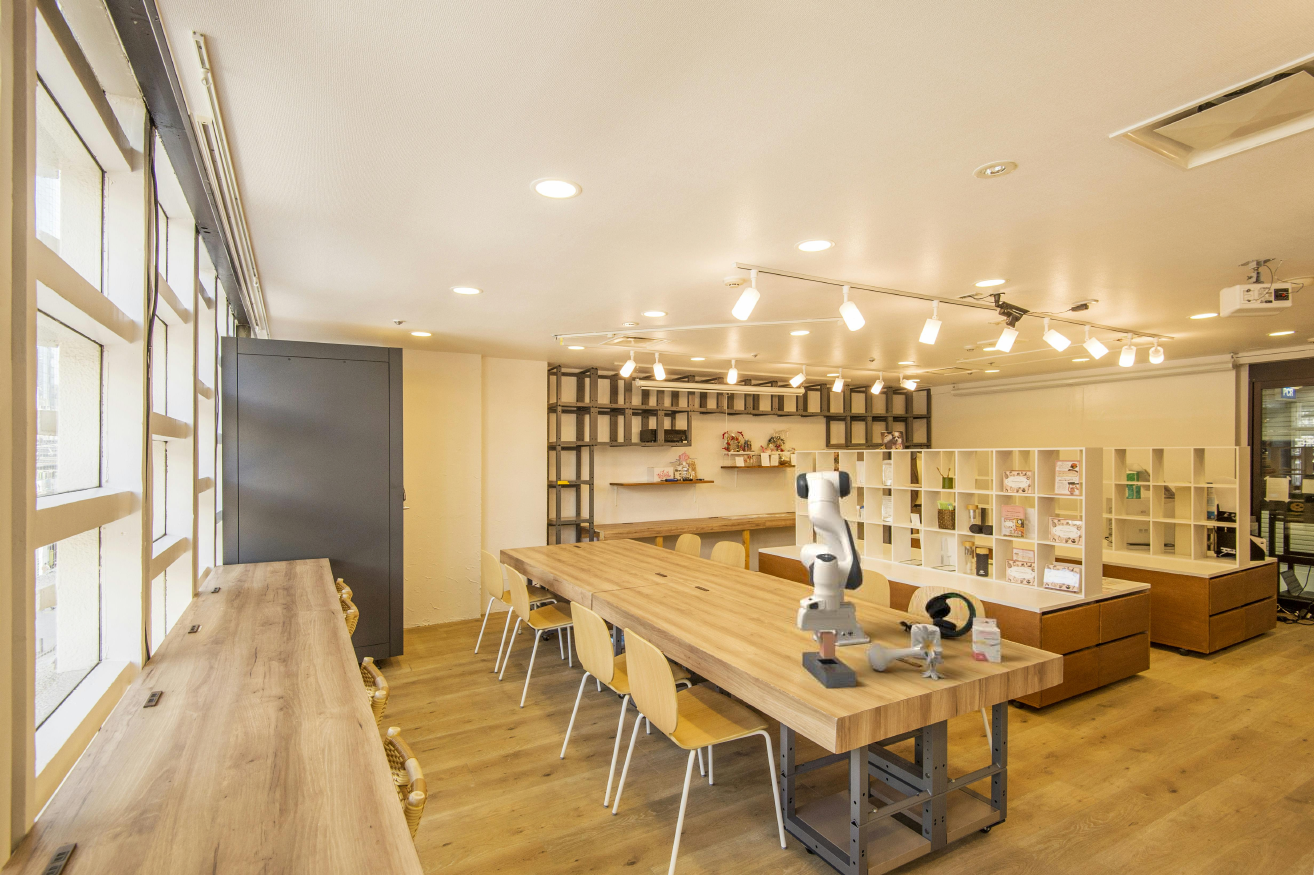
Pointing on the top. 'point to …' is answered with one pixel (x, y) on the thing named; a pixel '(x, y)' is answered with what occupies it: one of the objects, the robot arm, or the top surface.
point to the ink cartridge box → (986, 640)
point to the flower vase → (908, 653)
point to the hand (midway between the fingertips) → (827, 642)
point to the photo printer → (917, 633)
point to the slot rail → (829, 670)
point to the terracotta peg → (827, 644)
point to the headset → (941, 609)
